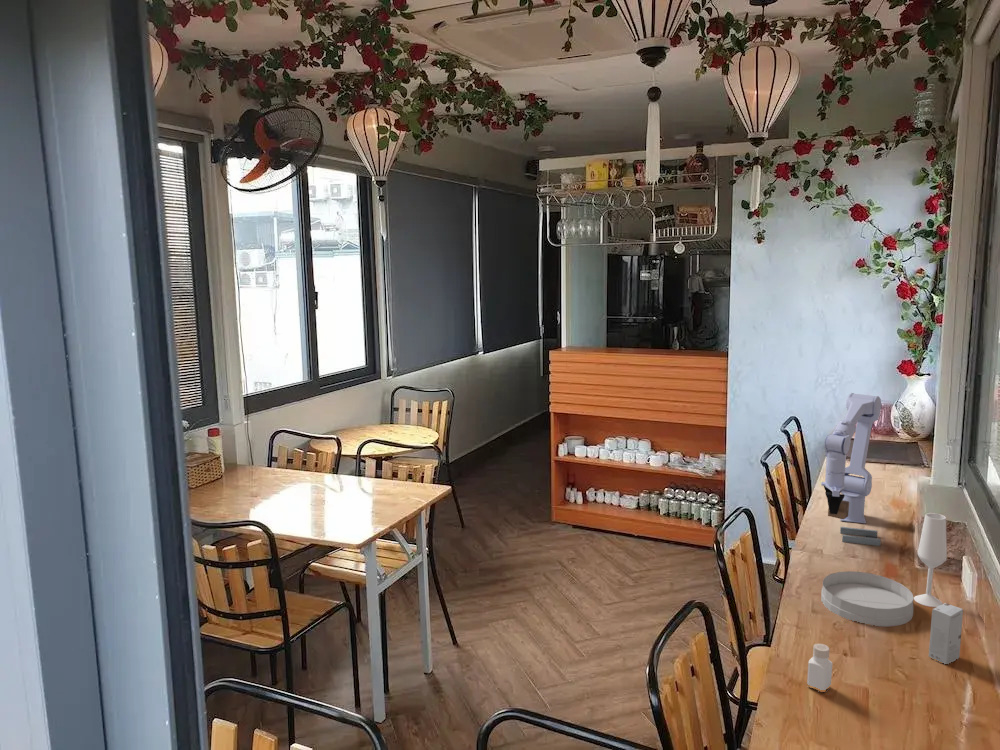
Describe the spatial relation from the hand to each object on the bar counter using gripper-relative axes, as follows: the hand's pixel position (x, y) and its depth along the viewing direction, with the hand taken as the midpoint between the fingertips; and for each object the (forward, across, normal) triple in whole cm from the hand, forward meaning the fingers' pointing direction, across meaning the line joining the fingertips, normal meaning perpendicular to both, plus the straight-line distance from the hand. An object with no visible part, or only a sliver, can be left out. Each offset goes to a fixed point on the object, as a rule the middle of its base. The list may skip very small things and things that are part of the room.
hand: (832, 510), depth 243 cm
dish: (+9, +50, +5) cm, 51 cm away
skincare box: (+9, +72, +19) cm, 75 cm away
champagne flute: (+9, +42, +21) cm, 48 cm away
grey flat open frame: (+8, +1, +8) cm, 12 cm away
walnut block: (+2, 0, +2) cm, 2 cm away
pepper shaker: (+9, +94, -9) cm, 95 cm away
